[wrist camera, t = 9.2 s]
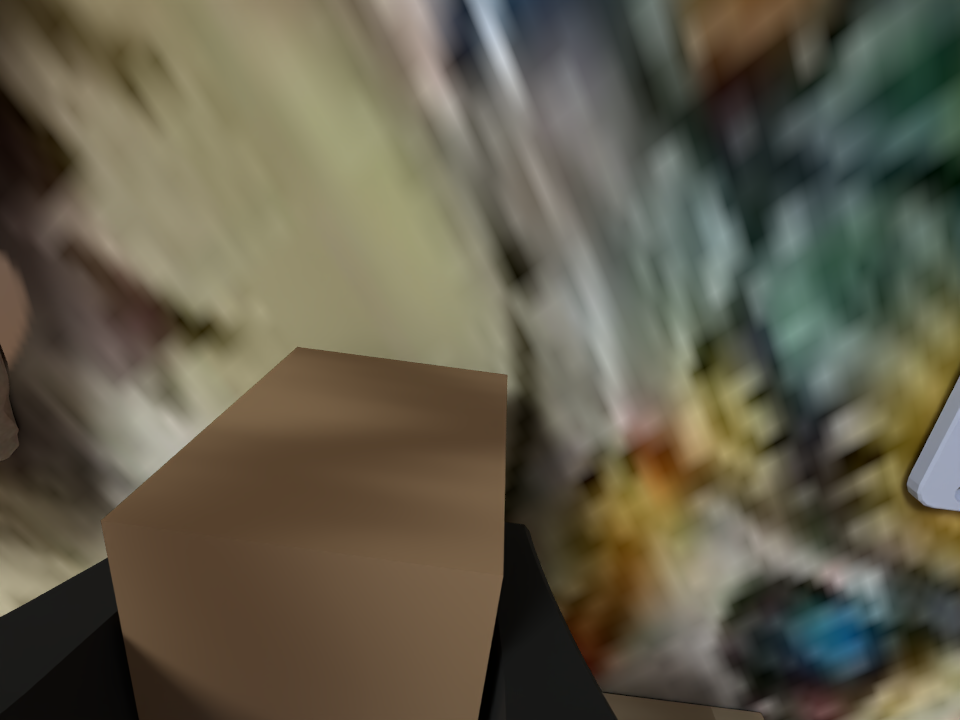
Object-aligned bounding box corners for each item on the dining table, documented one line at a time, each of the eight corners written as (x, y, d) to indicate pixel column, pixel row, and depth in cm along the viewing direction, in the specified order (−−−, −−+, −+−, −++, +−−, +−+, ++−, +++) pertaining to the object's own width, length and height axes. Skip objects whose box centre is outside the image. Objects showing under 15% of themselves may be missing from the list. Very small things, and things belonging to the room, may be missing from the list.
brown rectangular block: (507, 374, 10) (503, 575, 5) (471, 610, 12) (445, 901, 7) (297, 347, 10) (100, 520, 5) (300, 587, 12) (166, 861, 7)
